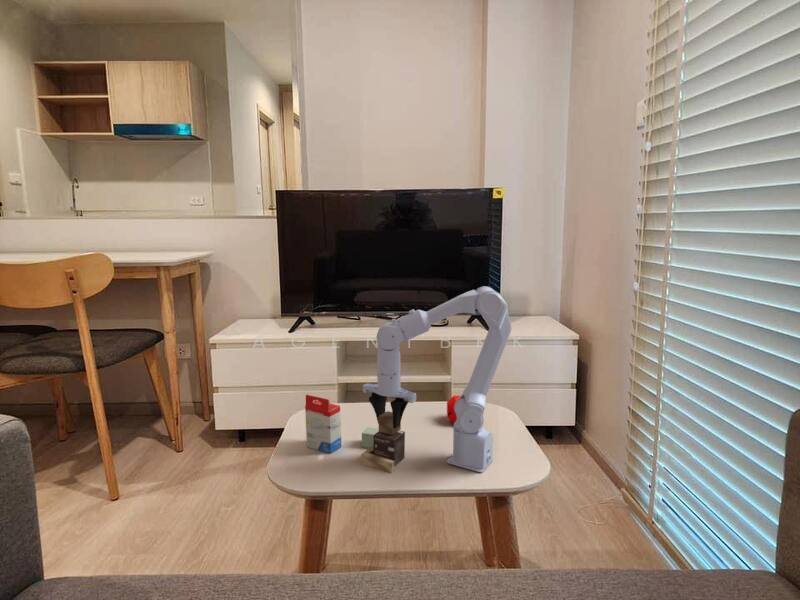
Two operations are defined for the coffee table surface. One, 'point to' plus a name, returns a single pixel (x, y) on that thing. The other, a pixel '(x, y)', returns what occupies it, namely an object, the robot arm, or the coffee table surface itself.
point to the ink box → (322, 424)
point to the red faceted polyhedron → (452, 408)
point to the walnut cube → (387, 423)
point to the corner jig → (376, 461)
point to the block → (368, 436)
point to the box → (390, 446)
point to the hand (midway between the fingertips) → (389, 424)
